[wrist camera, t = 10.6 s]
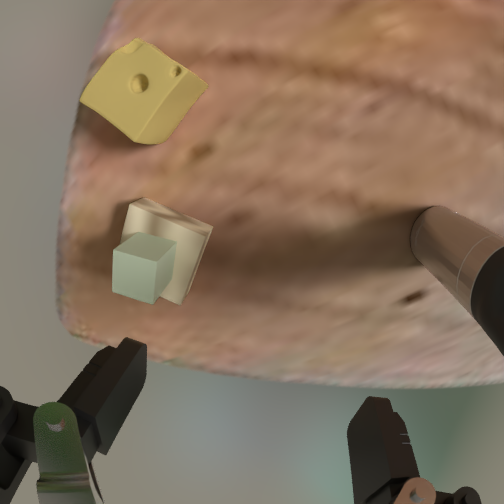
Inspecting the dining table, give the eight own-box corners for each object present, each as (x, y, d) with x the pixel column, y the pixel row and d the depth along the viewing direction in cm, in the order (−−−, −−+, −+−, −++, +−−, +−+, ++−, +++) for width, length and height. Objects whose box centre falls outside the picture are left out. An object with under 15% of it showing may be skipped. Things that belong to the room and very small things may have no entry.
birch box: (214, 225, 42) (205, 236, 37) (190, 289, 46) (180, 305, 41) (145, 196, 41) (129, 203, 37) (128, 261, 45) (113, 273, 41)
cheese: (158, 48, 33) (126, 27, 24) (215, 87, 35) (194, 70, 26) (115, 106, 37) (75, 100, 27) (167, 147, 38) (134, 149, 29)
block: (176, 241, 38) (156, 262, 31) (171, 279, 40) (153, 304, 33) (138, 231, 38) (113, 249, 31) (135, 268, 40) (112, 291, 33)
